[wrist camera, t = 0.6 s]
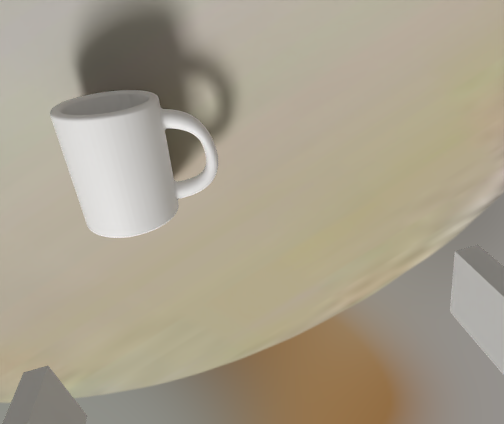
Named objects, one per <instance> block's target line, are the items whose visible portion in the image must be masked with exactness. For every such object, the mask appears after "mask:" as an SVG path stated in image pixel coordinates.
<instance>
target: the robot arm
mask: <svg viewBox="0 0 504 424" xmlns="http://www.w3.org/2000/svg"><path fill="white" fill-rule="evenodd" d="M450 312H451V313H452V315H453V316H454V317H455V318H456V319H457V321H458V322H459V323H460V324H461V325H462V326H463V327H464V329H465V330H466V331H467V332H468V334H469V335H470V336H471V337H472V338H473V339H474V341H475V342H476V343H477V344H478V345H479V346H480V348H481V349H482V350H483V351H484V352H485V354H487V356H488V357H489V358H490V359H491V361H492V362H493V363H494V364H495V365H496V367H497V368H498V369H499V370H500V371H501V372H502V374H503V375H504V266H503V265H501V264H500V263H499V262H498V261H497V260H495V259H494V258H493V257H492V256H491V255H489V254H488V253H487V252H486V251H485V250H484V249H482V248H481V247H480V246H479V245H475V246H471V247H468V248H464V249H461V250H457V251H455V256H454V269H453V281H452V294H451V307H450ZM86 419H87V415H86V413H85V412H84V411H83V410H82V409H81V407H80V406H79V404H78V403H77V402H76V401H75V399H74V398H73V397H72V396H71V394H70V393H69V392H68V390H67V389H66V388H65V387H64V385H63V384H62V383H61V381H60V380H59V379H58V378H57V376H56V375H55V374H54V373H53V371H52V370H51V369H50V367H49V366H45V367H42V368H38V369H35V370H31V371H27V372H24V373H23V375H22V378H21V380H20V382H19V385H18V387H17V390H16V392H15V395H14V397H13V399H12V402H11V404H10V407H9V409H8V412H7V414H6V416H5V419H4V421H3V424H86Z"/></svg>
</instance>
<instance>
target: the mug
mask: <svg viewBox="0 0 504 424" xmlns="http://www.w3.org/2000/svg"><path fill="white" fill-rule="evenodd" d="M50 116H51V119H52V122H53V125H54V128H55V131H56V134H57V137H58V140H59V143H60V146H61V149H62V152H63V155H64V158H65V161H66V164H67V167H68V170H69V173H70V176H71V179H72V182H73V185H74V188H75V191H76V194H77V197H78V200H79V203H80V206H81V209H82V211H83V214H84V217H85V220H86V223H87V226H88V228H89V229H90V230H91V231H92V232H94V233H95V234H98V235H100V236H104V237H111V238H124V237H132V236H137V235H141V234H144V233H148V232H150V231H153V230H155V229H157V228H159V227H161V226H163V225H164V224H166V223H167V222H169V221H170V220H171V219H172V218H173V217H174V216H175V214H176V212H177V210H178V199H179V198H184V197H187V196H191V195H193V194H196V193H198V192H200V191H202V190H203V189H205V188H206V187H207V186H208V185H209V184H210V183H211V182H212V181H213V179H214V177H215V175H216V173H217V169H218V155H217V150H216V147H215V144H214V141H213V139H212V137H211V135H210V133H209V131H208V130H207V128H206V127H205V126H204V125H203V124H202V123H201V122H200V121H199V120H198V119H197V118H195V117H194V116H192V115H190V114H188V113H186V112H183V111H179V110H173V109H162V108H161V106H160V102H159V98H158V96H157V95H156V94H154V93H152V92H149V91H142V90H118V91H108V92H101V93H95V94H89V95H85V96H81V97H77V98H73V99H70V100H67V101H64V102H62V103H60V104H58V105H56V106H55V107H53V108H52V110H51V111H50ZM167 128H174V129H180V130H184V131H187V132H190V133H192V134H193V135H195V136H196V137H197V138H198V139H199V140H200V141H201V143H202V145H203V147H204V150H205V155H206V166H205V168H204V170H203V171H202V172H201V173H200V174H199V175H197V176H195V177H193V178H190V179H187V180H183V181H178V182H176V181H175V180H174V177H173V172H172V166H171V161H170V156H169V150H168V145H167V139H166V134H165V129H167Z"/></svg>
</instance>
